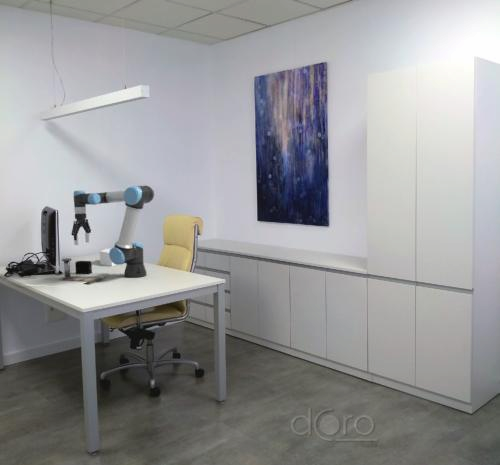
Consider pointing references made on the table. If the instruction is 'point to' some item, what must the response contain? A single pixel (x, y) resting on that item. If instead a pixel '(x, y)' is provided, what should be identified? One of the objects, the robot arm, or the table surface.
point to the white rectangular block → (105, 258)
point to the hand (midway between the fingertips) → (82, 243)
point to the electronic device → (83, 267)
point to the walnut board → (83, 279)
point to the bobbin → (67, 268)
